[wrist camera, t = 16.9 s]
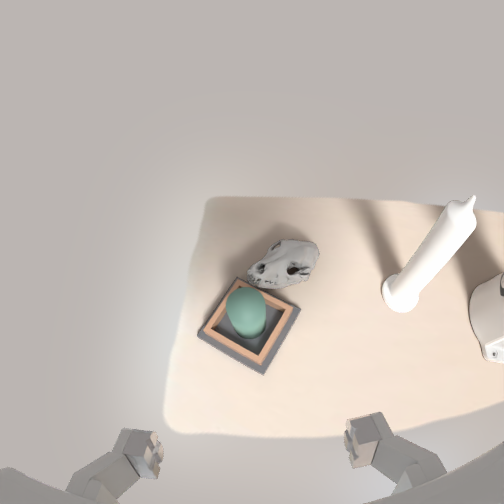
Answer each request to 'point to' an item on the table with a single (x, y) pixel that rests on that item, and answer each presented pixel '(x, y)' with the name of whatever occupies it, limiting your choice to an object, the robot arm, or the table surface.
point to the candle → (430, 255)
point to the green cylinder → (247, 312)
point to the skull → (284, 264)
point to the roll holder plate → (250, 350)
